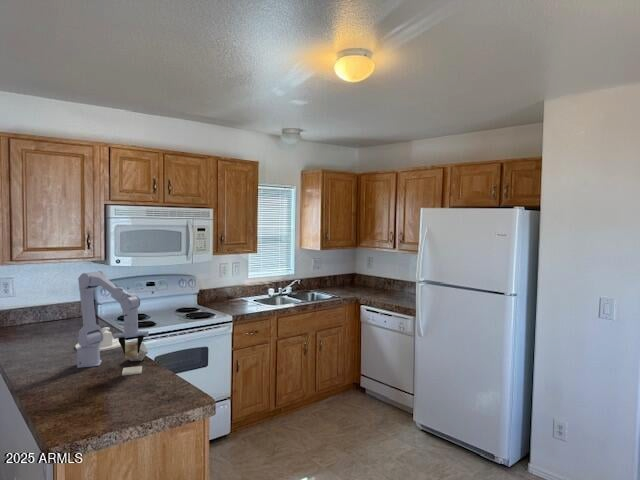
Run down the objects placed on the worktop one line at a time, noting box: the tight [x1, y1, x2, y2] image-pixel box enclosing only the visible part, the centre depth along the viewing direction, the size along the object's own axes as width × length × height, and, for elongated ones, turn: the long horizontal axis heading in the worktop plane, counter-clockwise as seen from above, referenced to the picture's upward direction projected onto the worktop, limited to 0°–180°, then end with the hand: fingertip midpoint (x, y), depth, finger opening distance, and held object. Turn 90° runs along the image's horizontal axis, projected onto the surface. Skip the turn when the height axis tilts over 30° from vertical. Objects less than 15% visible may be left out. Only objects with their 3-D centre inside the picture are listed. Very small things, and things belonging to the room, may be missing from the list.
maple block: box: [124, 341, 138, 360], centre depth 201 cm, size 5×5×6 cm
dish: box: [74, 326, 127, 352], centre depth 243 cm, size 25×25×11 cm
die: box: [129, 342, 149, 362], centre depth 217 cm, size 8×9×10 cm
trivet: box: [121, 365, 143, 376], centre depth 201 cm, size 8×8×1 cm
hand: (131, 353), depth 201 cm, fingers closed on maple block, 5 cm apart
